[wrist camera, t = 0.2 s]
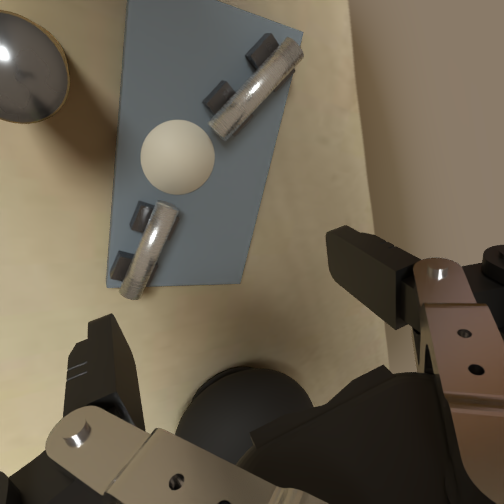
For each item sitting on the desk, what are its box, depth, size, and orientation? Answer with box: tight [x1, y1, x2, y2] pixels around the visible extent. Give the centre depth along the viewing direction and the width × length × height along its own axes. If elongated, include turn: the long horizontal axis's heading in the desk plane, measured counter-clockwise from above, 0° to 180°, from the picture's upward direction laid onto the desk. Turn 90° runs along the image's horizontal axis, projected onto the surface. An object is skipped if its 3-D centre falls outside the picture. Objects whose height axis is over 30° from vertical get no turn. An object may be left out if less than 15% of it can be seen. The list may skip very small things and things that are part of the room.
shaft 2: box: [202, 33, 304, 141], centre depth 30 cm, size 9×4×4 cm, turn 131°
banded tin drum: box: [0, 10, 70, 124], centre depth 21 cm, size 5×5×10 cm
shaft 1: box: [110, 200, 180, 300], centre depth 32 cm, size 9×4×4 cm, turn 151°
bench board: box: [106, 0, 303, 288], centre depth 33 cm, size 25×14×1 cm, turn 166°
